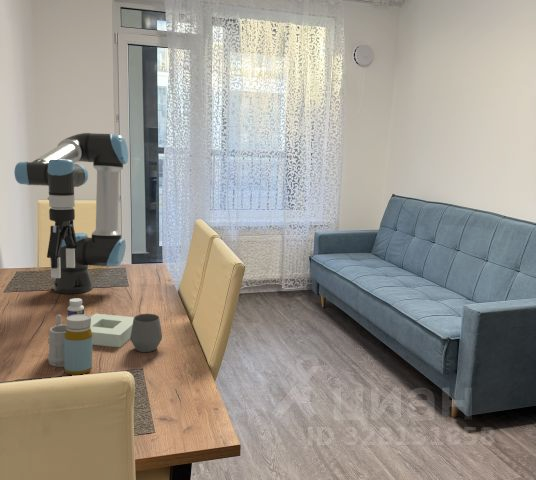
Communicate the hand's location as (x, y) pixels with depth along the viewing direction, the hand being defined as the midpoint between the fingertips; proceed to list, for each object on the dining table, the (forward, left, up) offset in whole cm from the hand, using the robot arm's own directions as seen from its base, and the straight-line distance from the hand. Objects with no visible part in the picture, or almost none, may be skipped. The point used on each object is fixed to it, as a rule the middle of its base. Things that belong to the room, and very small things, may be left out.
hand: (63, 272), depth 163 cm
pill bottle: (-3, +2, -19) cm, 19 cm away
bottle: (+29, +20, -19) cm, 40 cm away
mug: (+23, +12, -19) cm, 32 cm away
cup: (+10, +32, -19) cm, 39 cm away
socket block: (+3, +16, -19) cm, 25 cm away
